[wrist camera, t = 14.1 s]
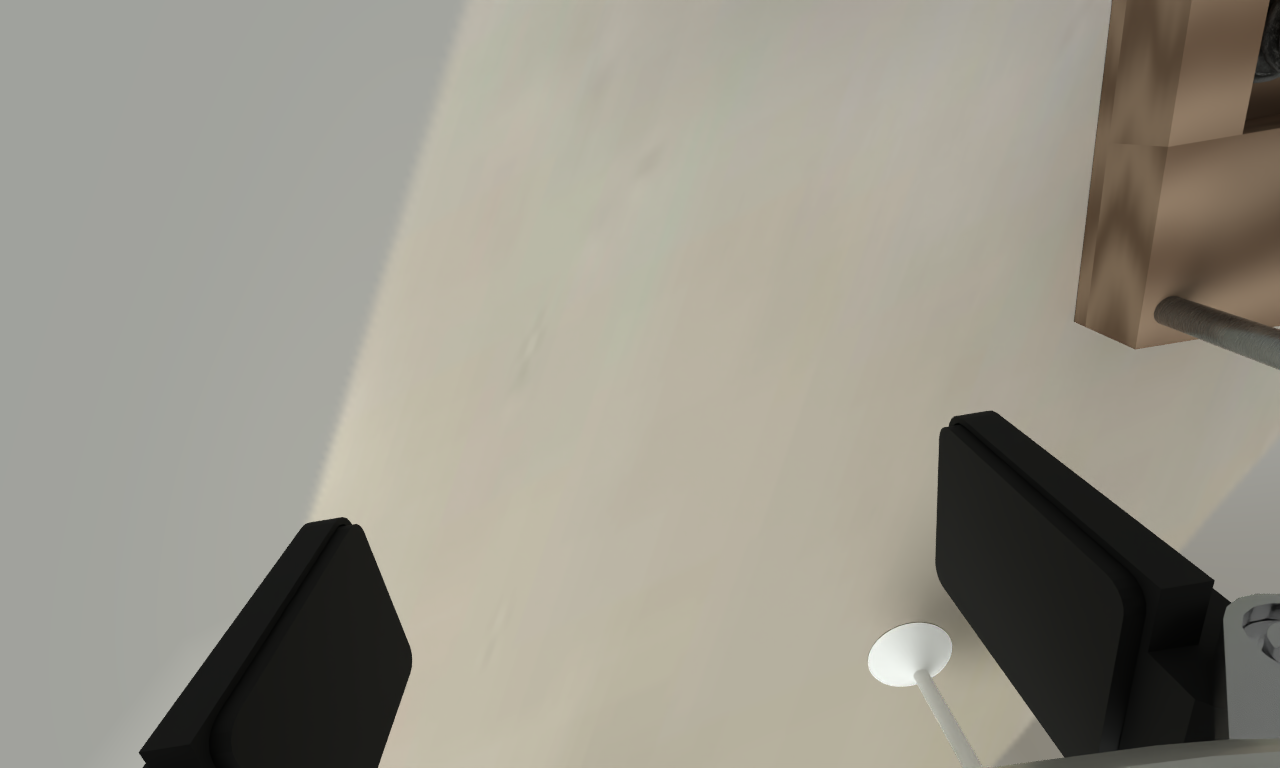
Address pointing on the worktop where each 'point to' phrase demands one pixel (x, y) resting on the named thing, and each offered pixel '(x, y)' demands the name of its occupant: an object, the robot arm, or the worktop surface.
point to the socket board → (1182, 171)
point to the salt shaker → (1269, 46)
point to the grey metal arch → (1221, 329)
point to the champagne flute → (921, 675)
